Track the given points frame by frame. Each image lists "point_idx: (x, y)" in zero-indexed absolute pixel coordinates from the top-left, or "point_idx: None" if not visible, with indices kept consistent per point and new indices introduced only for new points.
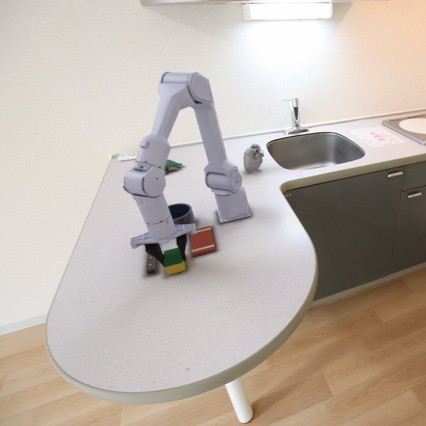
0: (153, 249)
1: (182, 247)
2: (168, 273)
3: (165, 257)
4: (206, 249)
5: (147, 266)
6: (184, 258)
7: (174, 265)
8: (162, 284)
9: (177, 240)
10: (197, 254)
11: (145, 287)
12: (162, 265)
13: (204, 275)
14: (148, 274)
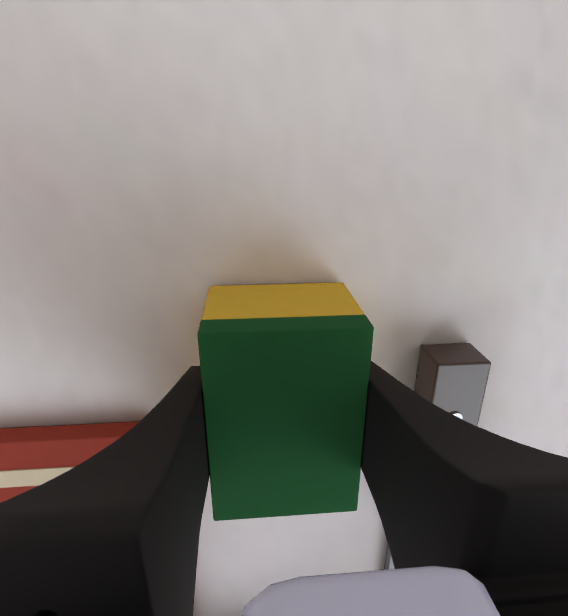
0: (530, 503)
1: (122, 462)
2: (336, 287)
3: (348, 427)
4: (40, 454)
5: (475, 406)
6: (187, 376)
7: (277, 314)
8: (387, 193)
9: (125, 600)
10: (119, 428)
11: (504, 214)
12: (376, 365)
13: (38, 154)
14: (467, 344)
